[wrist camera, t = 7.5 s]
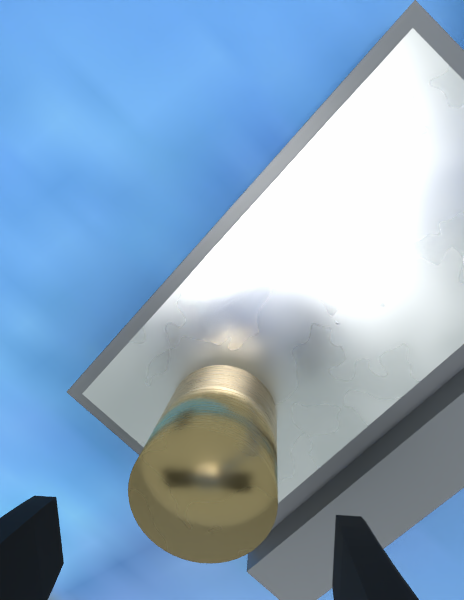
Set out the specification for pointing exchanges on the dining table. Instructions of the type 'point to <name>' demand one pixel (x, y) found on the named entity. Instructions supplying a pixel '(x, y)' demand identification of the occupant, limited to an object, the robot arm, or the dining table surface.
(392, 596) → the robot arm
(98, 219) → the dining table surface
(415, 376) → the scale
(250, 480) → the cylinder
